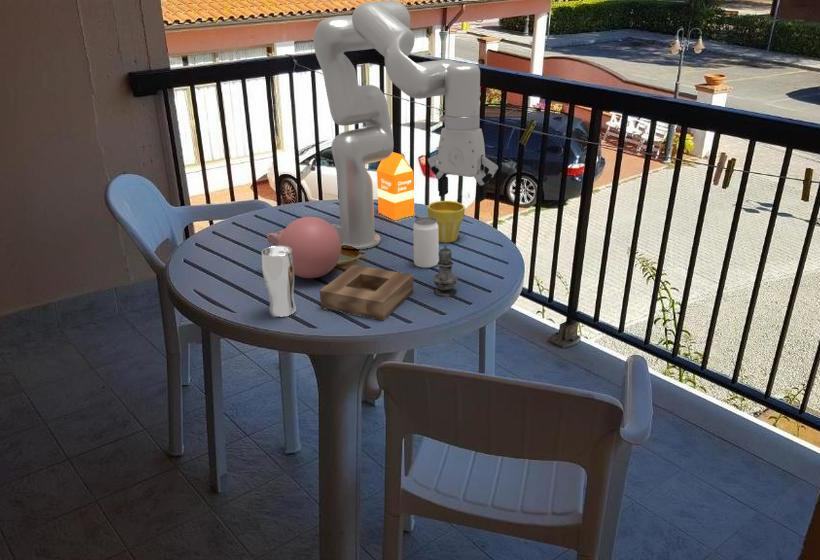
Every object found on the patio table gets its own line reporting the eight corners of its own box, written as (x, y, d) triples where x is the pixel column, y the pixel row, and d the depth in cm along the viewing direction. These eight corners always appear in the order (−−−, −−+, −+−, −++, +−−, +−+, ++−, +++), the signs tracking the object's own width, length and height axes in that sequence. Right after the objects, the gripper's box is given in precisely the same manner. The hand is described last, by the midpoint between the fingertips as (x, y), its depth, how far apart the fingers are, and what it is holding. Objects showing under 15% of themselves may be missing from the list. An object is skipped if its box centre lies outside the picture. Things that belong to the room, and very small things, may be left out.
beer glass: (284, 322, 151) (277, 259, 145) (261, 314, 155) (253, 253, 149) (304, 309, 157) (299, 248, 151) (281, 302, 160) (275, 242, 154)
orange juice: (397, 209, 221) (396, 147, 213) (414, 216, 214) (413, 153, 206) (378, 214, 216) (375, 152, 208) (394, 221, 210) (393, 157, 202)
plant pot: (465, 233, 200) (466, 200, 196) (462, 246, 191) (462, 212, 187) (430, 231, 202) (430, 199, 198) (425, 244, 193) (425, 211, 188)
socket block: (321, 308, 157) (319, 290, 155) (354, 281, 170) (353, 264, 169) (383, 320, 151) (382, 302, 149) (413, 291, 164) (413, 274, 162)
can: (442, 261, 181) (442, 218, 176) (432, 270, 176) (432, 226, 171) (419, 257, 184) (419, 215, 179) (409, 266, 178) (408, 222, 173)
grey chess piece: (455, 298, 161) (456, 250, 156) (431, 296, 162) (430, 249, 157) (459, 287, 166) (459, 241, 161) (435, 285, 167) (435, 239, 162)
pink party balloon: (288, 258, 185) (282, 203, 179) (353, 268, 178) (350, 212, 171) (254, 279, 172) (247, 222, 166) (323, 292, 165) (318, 232, 158)
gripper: (419, 122, 152) (421, 196, 159) (490, 129, 143) (488, 207, 150) (436, 116, 158) (437, 188, 164) (505, 122, 149) (503, 198, 156)
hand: (461, 197), depth 157 cm, fingers open, 9 cm apart
